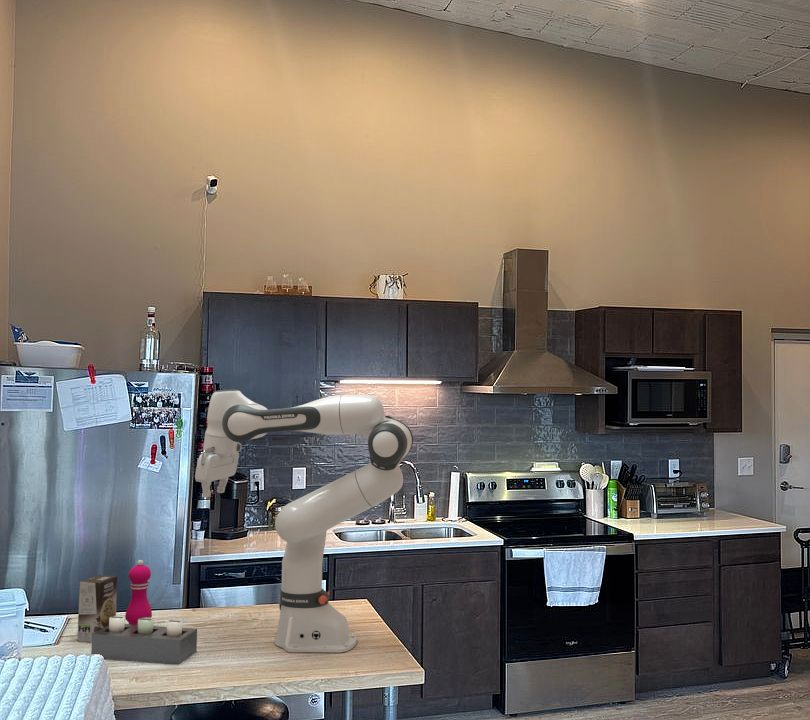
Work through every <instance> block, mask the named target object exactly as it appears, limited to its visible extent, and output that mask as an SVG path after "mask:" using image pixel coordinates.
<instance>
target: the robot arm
mask: <svg viewBox="0 0 810 720" xmlns="http://www.w3.org/2000/svg"><path fill="white" fill-rule="evenodd" d="M206 416H207V417H206V421H207V428H206V429H205V432H204V440H203V448H202V451H203V452H202V453H201V454H200V455H199V457H198V460H197V464H196V469H195V475H194V478H195V482H198V483H201V488H202V495H201V496H202V497H203V498H206V499H207V498H210V497H211V495H212V490H211V485H212V482H214V481H215V482H216V481H218V480H219V483H218V486H217V487H216V492H217V493H218V494H223V493H225V490H226V487H227V483H228V482H229V481H228V480H229V478H230V477H232V476H235V474H236V473H237V469H238V463H239V457H240V456H239V455H240V453H239V452H241V450H242V443H245V442H247V441H250V440H254V439H259V438H262V437H264V436H266V435H268V434H271V433H272V434H273V433H284V432H304V433H309V434H310V433H311V434H319V435H327V436H328V435H329V436H347V435H362V436H366V437H367V438H368V439H367V450H368V454H369V461H370V462H369V463H367V464H366V465H364V466H362V467H360V468H358V469H355V470H353V471H352V472H350V473H348V474H346V475H344V476H341V477H339V478H337V479H336V480H333V481H332V482H330V483H328V484H325V485H324V486H322V487H319V488H318V489H315V490H314V491H311V492H309V493H307V494H305V495H303V496H301V497H299V498H297V499H295V500H293V501H290V502H289V503H287V504H285V505H284V506H283V507H282V508H281V510H279V512H278V514H277V516H276V519H275V522H274V523H275V524H274V525H275V531H276V533H277V535H278V537H280V539H282V541H285V542H286V546H285V549H284V550H285V551H284V553H283V554H284V555H283V557H282V561H281V589H280V590H279V598H278V602H279V603H278V605H279V606H278V607H279V619H278V626H277V631H276V635H275V638H274V641H273V643H274V644H275V645H276V646H277V647H280V648H282V649H284V650H285V651H286V652H288V653H345V652H348V651H350V650H352V649H353V648H354V647H356V645H357V642H358V637H357V635H356V634H355V633H350V627H349V621H348V619H347V617H346V615H345V616H344V615H343V613H341V612H339V610H337V609H336V608H335V607H333V606H332V604H330V603H329V601H330V599H329V598H330V597H329V596H330V592H331V591H326V590H324V588H323V560H324V559H323V558H324V552H325V545H326V539H327V531H328V530H330V529H332V528H334V527H336V526H338V525H340V524H342V523H344V522H345V521H348V520H350V519H352V518H353V517H355V516H358V515H360V514H362V513H363V512H366V511H368V510H371V509H372V508H374V507H376V506H378V505H380V504H382V503H383V502H385V501H386V500H388V499H389V498H391V497H392V496H395V494H396V493H398V492H399V491H400V490H401V489H402V487H403V485H404V475H403V472H402V469H401V468H400V464H401V461H402V460H403V459H404V458H405V457H406V456H407V455H408V454H409V452H410V451H411V449H412V447H413V444H414V436H413V432H412V431H411V429H410V427H409V426H408V425H407V424H406V423H404V422H403V421H400V420H398V419H396V418H394V417H392V416H390V415H386V414H385V409H384V405H383V403H382V401H381V400H380V398H379V397H377V396H375V395H370V394H355V393H354V394H353V393H351V394H350V393H349V394H337V395H336V394H335V395H330V396H325V397H322V398H319V399H315V400H313V401H309V402H307V403H304V404H300V405H297V406H293V407H286V408H285V407H284V408H283V407H282V408H274V409H273V408H272V409H271V408H270V409H268V408H267V407H266V406H264V405H261V404H260V403H257V402H255V401H253V400H251V399H249V398H248V397H247V396H245V395H244V394H243V393H242V391H240V389H239V390H238V389H235V388H234V389H232V388H231V389H220V390H219V389H218V390H215V391H214V392H213V393H212V395H211V397H210V400H209V405H208V410H207V415H206Z"/></svg>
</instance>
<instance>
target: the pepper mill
mask: <svg viewBox="0 0 810 720" xmlns="http://www.w3.org/2000/svg"><path fill="white" fill-rule="evenodd" d="M151 576H152V571H151V569H150V567H149V566H147V565H144V560H142V559H139V560H137V561H136V565H134V566H133V567H131V569H130V570H129V572H128V579H129V580H130V582H131V583H130V587H129V588H130V589H131V597H130V602H129V604H128V605H127V608H126V611H125V615H124V617H125V621H126V622H128V623H127V624H135V625H138V619H140V618H153V617H152V616H153V613H152V612H153V611H152V608H151V605H150V602H149V600H148V596H147V595H148V588H149V585H150V582H149V580H150V578H151Z"/></svg>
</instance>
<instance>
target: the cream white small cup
mask: <svg viewBox="0 0 810 720" xmlns="http://www.w3.org/2000/svg"><path fill="white" fill-rule="evenodd" d="M166 627H167V636H174V637H180V636H181V635H182V628H183V620H182V619H178V618H177V619H176V618H175V619H170V620H167V621H166Z"/></svg>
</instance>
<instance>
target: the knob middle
mask: <svg viewBox="0 0 810 720" xmlns="http://www.w3.org/2000/svg"><path fill="white" fill-rule="evenodd" d="M153 626H154V618H153V617H151V618H140V619H138V634H146V635H150V634H152V633H153Z"/></svg>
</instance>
